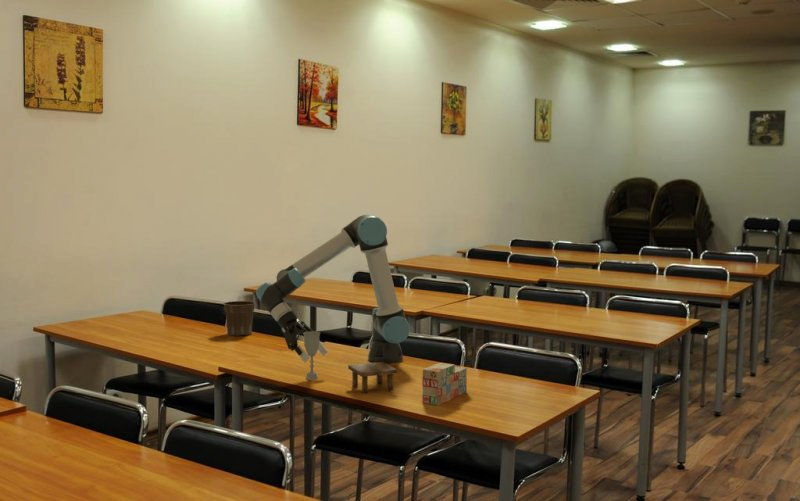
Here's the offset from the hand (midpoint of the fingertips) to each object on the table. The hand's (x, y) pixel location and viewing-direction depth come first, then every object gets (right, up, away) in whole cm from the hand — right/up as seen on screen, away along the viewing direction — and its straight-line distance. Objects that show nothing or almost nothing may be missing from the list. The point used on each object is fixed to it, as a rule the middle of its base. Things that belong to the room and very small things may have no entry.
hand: (316, 357), depth 314 cm
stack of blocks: (+49, -11, -26) cm, 56 cm away
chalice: (-2, -9, +2) cm, 9 cm away
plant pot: (-49, -1, +95) cm, 107 cm away
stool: (+22, -10, -14) cm, 28 cm away
